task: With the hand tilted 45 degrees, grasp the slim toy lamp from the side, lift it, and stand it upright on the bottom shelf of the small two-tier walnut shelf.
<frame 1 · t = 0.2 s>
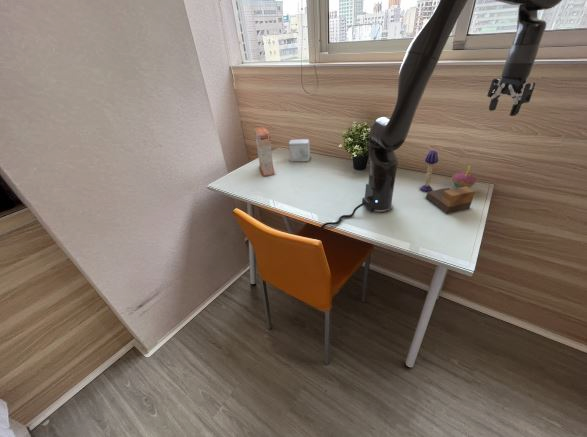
hand: (502, 112, 96), 29 cm above the table, tool pointing down, fingers open, 8 cm apart
toy lamp: (425, 190, 114), on the table
cosmetics box: (300, 159, 151), on the table
tiered shelf: (446, 203, 104), on the table
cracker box: (267, 170, 143), on the table
cupcake: (460, 189, 112), on the table
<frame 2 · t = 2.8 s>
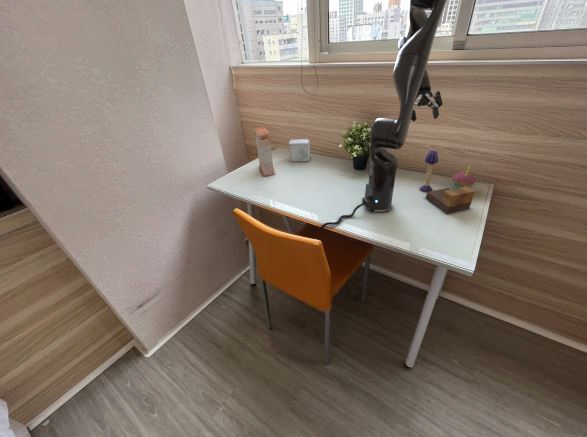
hand: (425, 119, 108), 26 cm above the table, tool tilted 40°, fingers open, 8 cm apart
nothing on the table moved.
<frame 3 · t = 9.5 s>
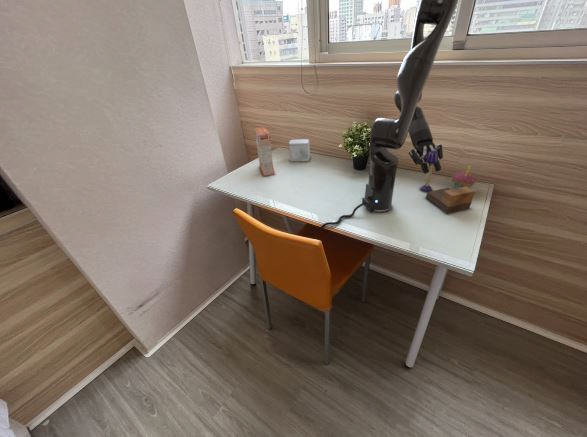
hand: (432, 171, 107), 9 cm above the table, tool tilted 45°, fingers closed on toy lamp, 4 cm apart
toy lamp: (425, 190, 114), on the table, touching gripper
everything else where it was.
when the fingers open (12 cm above the table, at t = 16.9 s): toy lamp stays where it is, resting on tiered shelf.
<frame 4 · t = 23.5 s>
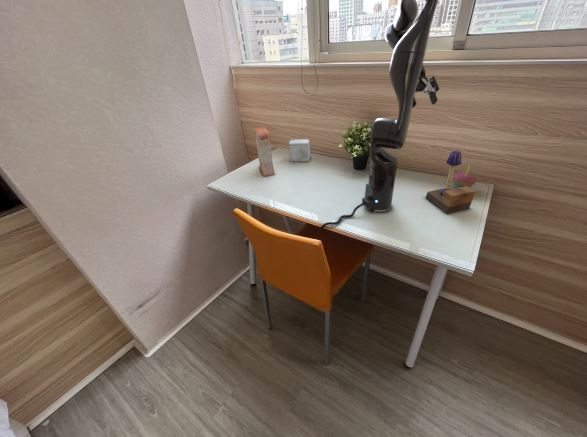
hand: (424, 104, 101), 33 cm above the table, tool tilted 45°, fingers open, 8 cm apart
toy lamp: (445, 194, 104), point 3 cm above the table, touching tiered shelf
everything else where it was.
at the end: toy lamp 0.4 cm from the target spot on the tiered shelf, point 2.8 cm above the tiered shelf's base; toy lamp tilted 0°; the gripper is holding nothing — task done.
